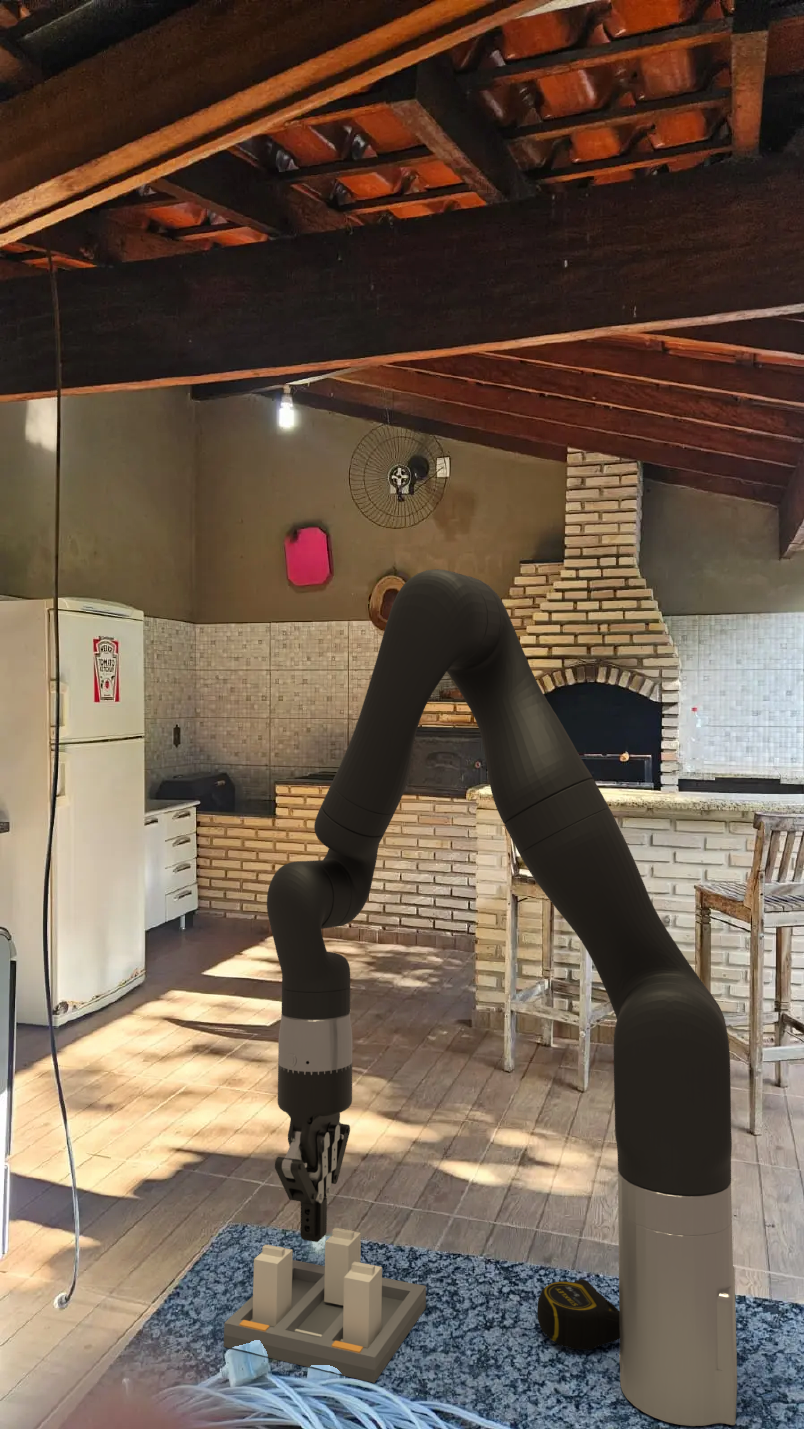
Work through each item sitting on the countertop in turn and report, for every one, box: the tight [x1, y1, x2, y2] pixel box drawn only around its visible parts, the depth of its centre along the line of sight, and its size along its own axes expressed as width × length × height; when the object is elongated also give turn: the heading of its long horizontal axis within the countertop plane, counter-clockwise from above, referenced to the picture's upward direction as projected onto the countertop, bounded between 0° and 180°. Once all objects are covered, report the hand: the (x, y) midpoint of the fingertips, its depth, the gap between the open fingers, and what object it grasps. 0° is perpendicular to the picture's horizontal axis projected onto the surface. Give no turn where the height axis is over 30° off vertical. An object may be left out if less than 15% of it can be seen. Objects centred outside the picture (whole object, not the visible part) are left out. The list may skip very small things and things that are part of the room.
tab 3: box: [252, 1244, 294, 1327], centre depth 88 cm, size 2×3×6 cm
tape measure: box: [536, 1278, 620, 1351], centre depth 87 cm, size 7×7×4 cm
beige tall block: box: [343, 1262, 383, 1348], centre depth 85 cm, size 2×3×6 cm
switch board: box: [223, 1259, 427, 1384], centre depth 88 cm, size 14×13×2 cm
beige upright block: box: [324, 1227, 362, 1306], centre depth 92 cm, size 2×3×6 cm
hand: (313, 1237), depth 95 cm, fingers closed
